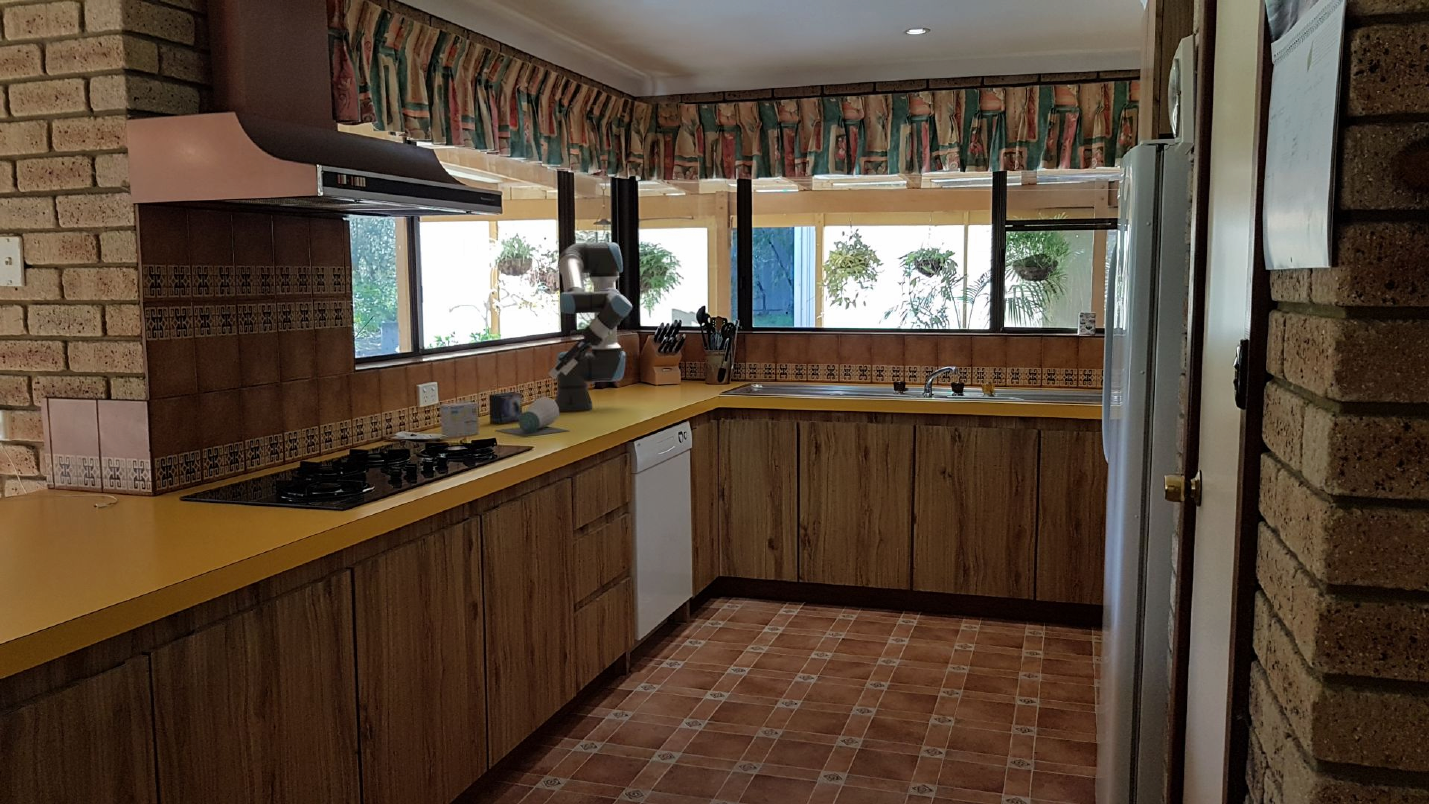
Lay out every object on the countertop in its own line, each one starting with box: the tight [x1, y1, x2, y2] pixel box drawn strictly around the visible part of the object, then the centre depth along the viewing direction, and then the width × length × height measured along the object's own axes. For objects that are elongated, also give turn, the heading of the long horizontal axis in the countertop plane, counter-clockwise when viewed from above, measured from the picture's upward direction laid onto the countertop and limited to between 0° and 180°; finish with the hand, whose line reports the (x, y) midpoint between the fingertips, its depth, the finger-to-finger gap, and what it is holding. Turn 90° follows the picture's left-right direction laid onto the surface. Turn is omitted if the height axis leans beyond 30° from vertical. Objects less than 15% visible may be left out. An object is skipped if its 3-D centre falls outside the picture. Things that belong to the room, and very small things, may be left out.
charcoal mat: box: [494, 426, 570, 438], centre depth 363 cm, size 17×20×1 cm
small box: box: [488, 391, 523, 425], centre depth 386 cm, size 11×6×10 cm, turn 143°
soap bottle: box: [518, 396, 560, 433], centre depth 363 cm, size 10×10×23 cm
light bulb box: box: [439, 401, 480, 439], centre depth 356 cm, size 11×7×11 cm, turn 134°
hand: (557, 374), depth 380 cm, fingers open, 13 cm apart
